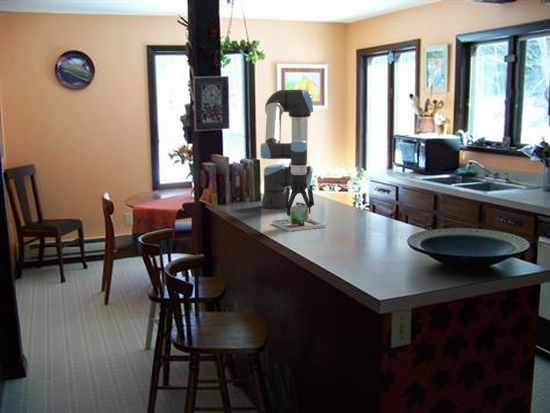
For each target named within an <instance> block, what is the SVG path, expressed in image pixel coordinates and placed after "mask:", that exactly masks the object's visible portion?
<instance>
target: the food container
mask: <svg viewBox="0 0 550 413" xmlns="http://www.w3.org/2000/svg"><path fill="white" fill-rule="evenodd" d="M305 210H307V206H306V204H305V202H304V203H303V202H298V201H296V202H295V205H293V206H292V207H291V216H292V223H291V227H300V226H305V222H306V221H305Z"/></svg>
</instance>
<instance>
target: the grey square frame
mask: <svg viewBox="0 0 550 413" xmlns="http://www.w3.org/2000/svg"><path fill="white" fill-rule="evenodd" d="M305 222H307V221H306V220H305ZM308 222H309V223H312V224H311V225H310V224H309V225H304V226H300V227H292V226H291V227H289V226H286V225H285V224H291V223H290V222H288V218H287V219H278V220H271V225H273V226H275V227H277V228H280V229H281V230H284V231H286V232H295V231H296V232H297V231H304V230H305V231H306V230H313V229H316V230H317V229H323V228H327V223H324V222H321V221H319V220H317V219H313V218H311V217H309V221H308Z"/></svg>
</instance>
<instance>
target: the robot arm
mask: <svg viewBox="0 0 550 413" xmlns="http://www.w3.org/2000/svg"><path fill="white" fill-rule="evenodd" d="M313 106H314V104H313V97H312V92H311V91H310V90H309V89H300V88H299V89H280V90H276V91H275V92H273V93H272V94H271V95H270V97H268V98H267V100H266V102H265V106H264V112H265V115H266V119H265V120H266V122H265V123H266V124H265V140H264V142H263V143H261V144H260V158H261V159H263V160H264V159H265V160H290V162H289V163H288V166H286V164H284V163H278V164H276V163H275V164H270V165H267V166H265V167H264V169H263V194H262V198H261V201H260V207H261V208H264V209H269V210H270V209H273V210H274V209H275V210H276V209H285V210H286V215H287V219H288V222H290V223H289V224H292V216H291V207H293V204H294V201H295V198H296V196H297V195H299V194H300V195H301V196H302V198H303V201H304V204H306V207H307V210H305V220H306V221H305V222H309V218H310V214H311V208H312V207H313V206H315V201H314V193H313V185H312V180H313V179H312V178H313V167H312V166H311V164H310V162H309V161H308V131H309V129H308V128H309V127H308V125H309V124H308V122H309V121H308V119H309V118H310V117H311V116H312V115H311V113H313V112H314V107H313ZM284 113H288V116H289V118H291V142H289V143H288V142H287V143H286V142H281V138H282V136H281V135H282V115H283V114H284ZM306 190H307V192H306ZM290 191H291V192H290Z"/></svg>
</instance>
